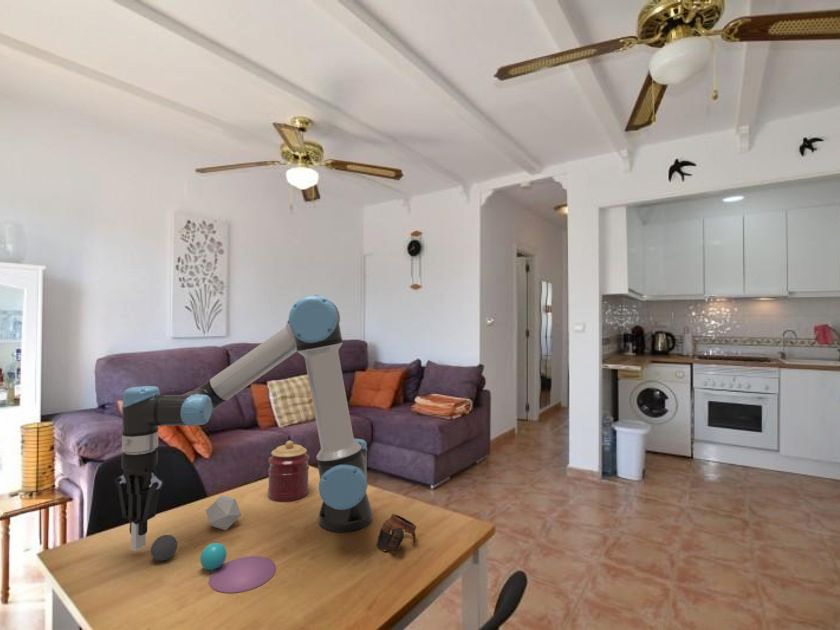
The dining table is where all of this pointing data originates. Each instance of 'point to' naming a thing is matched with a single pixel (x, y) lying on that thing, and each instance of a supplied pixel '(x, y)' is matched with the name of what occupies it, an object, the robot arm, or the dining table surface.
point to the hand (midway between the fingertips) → (138, 547)
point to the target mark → (242, 574)
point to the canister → (288, 472)
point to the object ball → (213, 556)
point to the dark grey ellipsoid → (164, 547)
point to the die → (223, 512)
